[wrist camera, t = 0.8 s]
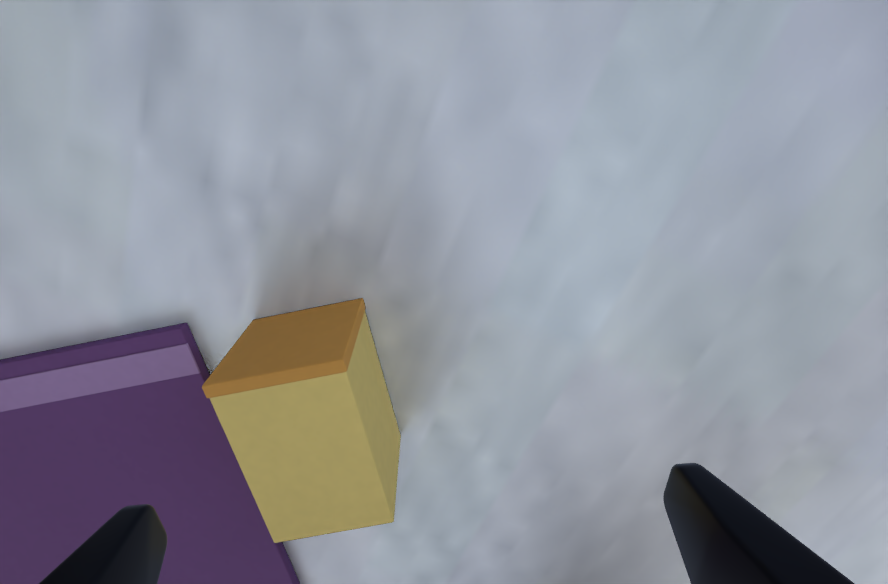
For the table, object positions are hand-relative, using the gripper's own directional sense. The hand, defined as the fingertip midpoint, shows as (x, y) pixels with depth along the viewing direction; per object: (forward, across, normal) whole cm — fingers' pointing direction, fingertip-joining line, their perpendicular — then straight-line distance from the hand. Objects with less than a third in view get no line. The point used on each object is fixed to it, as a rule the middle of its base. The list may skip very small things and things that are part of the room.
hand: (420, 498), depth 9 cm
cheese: (+11, +4, +7) cm, 14 cm away
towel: (+11, +16, +15) cm, 24 cm away
